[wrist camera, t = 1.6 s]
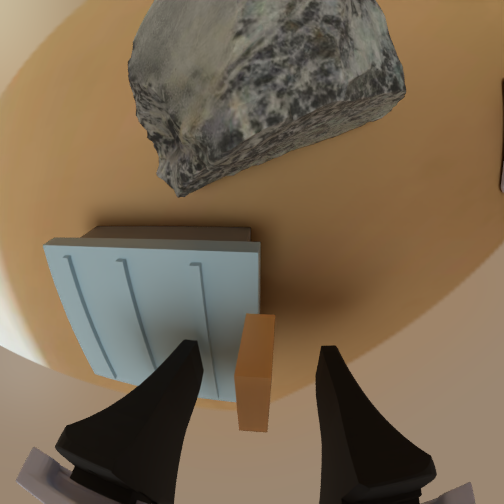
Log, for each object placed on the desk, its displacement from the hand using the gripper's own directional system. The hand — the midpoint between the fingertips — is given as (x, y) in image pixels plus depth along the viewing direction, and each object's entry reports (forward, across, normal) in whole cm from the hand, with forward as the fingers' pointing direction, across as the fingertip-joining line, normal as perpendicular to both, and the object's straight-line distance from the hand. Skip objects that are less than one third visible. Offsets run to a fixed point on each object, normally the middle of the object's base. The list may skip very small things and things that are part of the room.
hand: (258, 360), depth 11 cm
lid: (+2, +5, 0) cm, 6 cm away
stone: (+6, 0, -12) cm, 13 cm away
